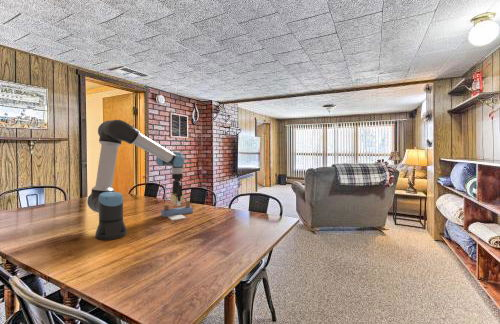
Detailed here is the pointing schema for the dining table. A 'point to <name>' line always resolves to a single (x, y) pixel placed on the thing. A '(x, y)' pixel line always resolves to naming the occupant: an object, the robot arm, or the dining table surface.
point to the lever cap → (174, 198)
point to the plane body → (177, 210)
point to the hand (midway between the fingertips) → (176, 204)
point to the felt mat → (176, 217)
